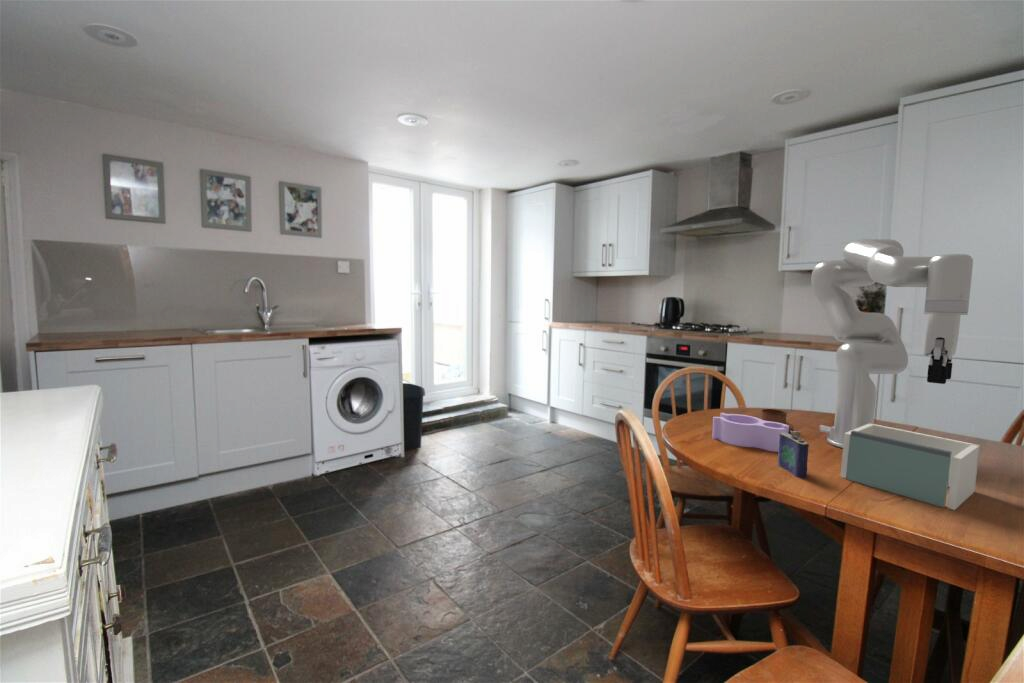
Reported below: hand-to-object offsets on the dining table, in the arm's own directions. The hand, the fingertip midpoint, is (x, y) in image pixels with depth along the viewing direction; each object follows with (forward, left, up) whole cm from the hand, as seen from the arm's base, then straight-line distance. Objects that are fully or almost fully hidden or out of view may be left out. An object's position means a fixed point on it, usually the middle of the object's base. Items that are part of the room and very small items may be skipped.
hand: (939, 380), depth 110 cm
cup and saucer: (-44, +16, -26) cm, 54 cm away
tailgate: (-3, -15, -25) cm, 29 cm away
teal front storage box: (-3, -7, -26) cm, 27 cm away
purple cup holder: (-41, -5, -26) cm, 49 cm away
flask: (-22, -21, -26) cm, 40 cm away
